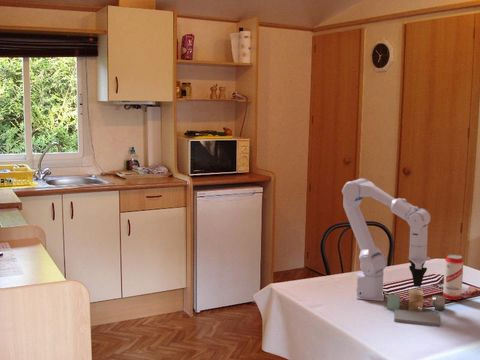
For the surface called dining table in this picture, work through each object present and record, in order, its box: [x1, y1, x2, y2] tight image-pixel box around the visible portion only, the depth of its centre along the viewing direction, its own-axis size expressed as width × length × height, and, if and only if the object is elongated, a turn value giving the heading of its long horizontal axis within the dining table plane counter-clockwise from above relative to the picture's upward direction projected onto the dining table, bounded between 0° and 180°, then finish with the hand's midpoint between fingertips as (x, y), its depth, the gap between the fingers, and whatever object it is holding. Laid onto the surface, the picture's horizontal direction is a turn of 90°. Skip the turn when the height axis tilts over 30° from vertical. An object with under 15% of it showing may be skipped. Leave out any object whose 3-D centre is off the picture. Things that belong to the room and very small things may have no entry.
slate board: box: [393, 309, 440, 327], centre depth 183 cm, size 14×8×1 cm, turn 74°
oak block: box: [408, 289, 424, 312], centre depth 191 cm, size 4×4×6 cm
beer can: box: [442, 253, 464, 300], centre depth 199 cm, size 6×6×16 cm
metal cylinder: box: [430, 294, 446, 312], centre depth 191 cm, size 4×4×4 cm
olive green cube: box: [386, 293, 401, 311], centre depth 193 cm, size 4×4×4 cm
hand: (417, 282), depth 190 cm, fingers open, 7 cm apart
